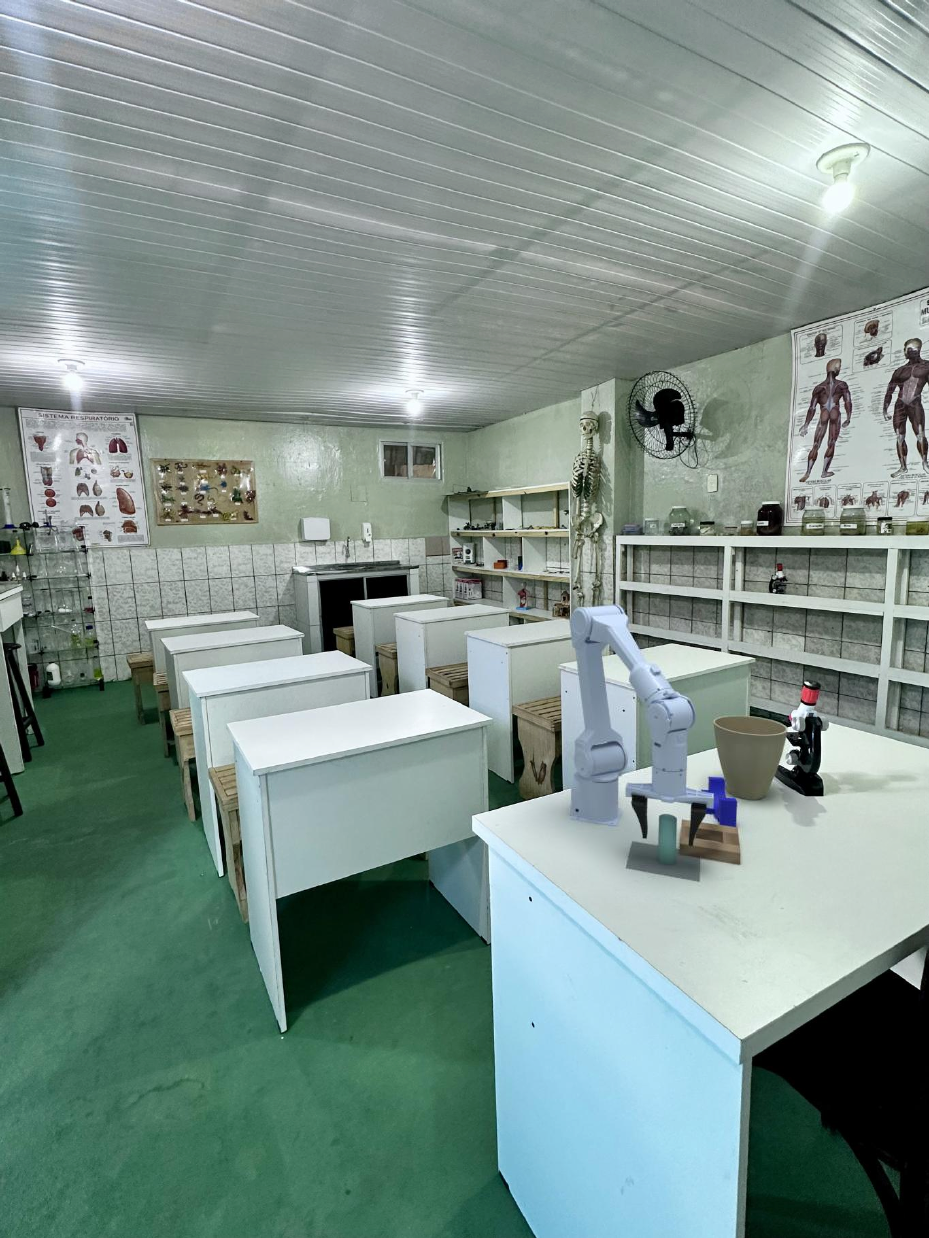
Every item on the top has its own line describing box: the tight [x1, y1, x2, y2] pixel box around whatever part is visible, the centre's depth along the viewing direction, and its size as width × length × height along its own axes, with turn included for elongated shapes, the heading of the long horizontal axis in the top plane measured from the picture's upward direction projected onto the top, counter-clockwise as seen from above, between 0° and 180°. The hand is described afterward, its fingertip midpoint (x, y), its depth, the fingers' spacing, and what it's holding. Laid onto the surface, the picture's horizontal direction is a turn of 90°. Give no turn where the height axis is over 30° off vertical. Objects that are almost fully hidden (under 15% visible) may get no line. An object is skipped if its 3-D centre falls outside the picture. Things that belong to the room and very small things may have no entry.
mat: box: [625, 840, 701, 883], centre depth 106 cm, size 12×10×1 cm
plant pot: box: [713, 715, 789, 800], centre depth 133 cm, size 15×15×16 cm
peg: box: [657, 813, 678, 865], centre depth 105 cm, size 3×3×8 cm
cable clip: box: [700, 776, 738, 827], centre depth 123 cm, size 12×4×6 cm, turn 169°
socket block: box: [679, 819, 742, 866], centre depth 110 cm, size 10×10×2 cm
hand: (667, 839), depth 105 cm, fingers open, 7 cm apart
